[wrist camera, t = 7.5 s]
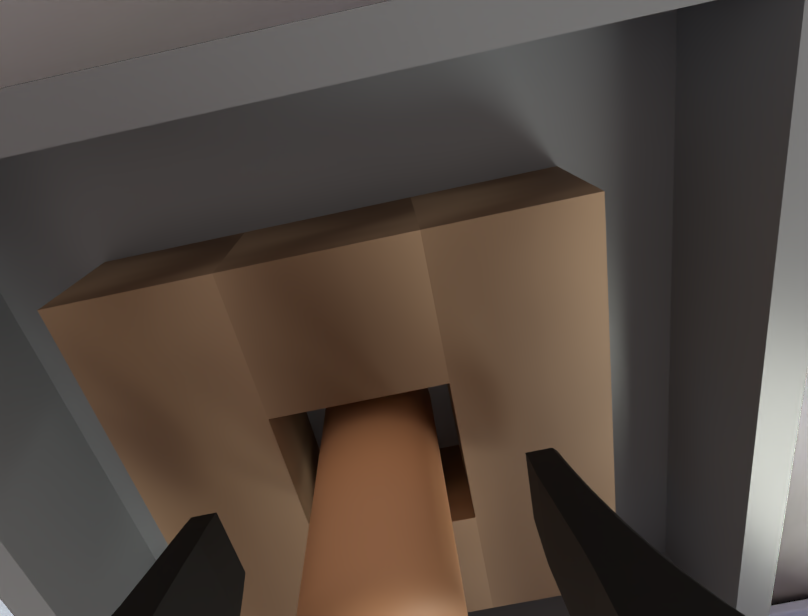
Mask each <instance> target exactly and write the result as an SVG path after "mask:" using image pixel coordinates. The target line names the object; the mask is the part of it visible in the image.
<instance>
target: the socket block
mask: <svg viewBox="0 0 808 616" xmlns="http://www.w3.org/2000/svg"><path fill="white" fill-rule="evenodd" d="M37 311H38V312H39V314H40V316H41V318H42V319H43V321H44V323H45V325H46V327H47V328H48V330H49V332H50V334H51V336H52V337H53V339H54V341H55V343H56V345H57V346H58V348H59V350H60V352H61V354H62V355H63V357H64V359H65V361H66V363H67V364H68V366H69V368H70V370H71V371H72V373H73V375H74V377H75V379H76V380H77V382H78V384H79V386H80V388H81V389H82V391H83V393H84V395H85V397H86V398H87V400H88V402H89V404H90V406H91V407H92V409H93V411H94V413H95V415H96V416H97V418H98V420H99V422H100V424H101V425H102V427H103V429H104V431H105V432H106V434H107V436H108V438H109V440H110V441H111V443H112V445H113V447H114V449H115V450H116V452H117V454H118V456H119V458H120V459H121V461H122V463H123V465H124V467H125V468H126V470H127V472H128V474H129V476H130V477H131V479H132V481H133V483H134V484H135V486H136V488H137V490H138V492H139V493H140V495H141V497H142V499H143V501H144V502H145V504H146V506H147V508H148V510H149V511H150V513H151V515H152V517H153V519H154V520H155V522H156V524H157V526H158V528H159V529H160V531H161V533H162V535H163V536H164V538H165V540H166V542H167V544H168V545H169V544H170V543H171V541H172V540H173V539H174V538H175V536H176V535H177V534H178V533H179V531H180V530H181V529H182V528H183V526H184V525H185V524H186V523H187V522H188V520H189V519H190V518H191V517H195V516H200V515H206V514H211V513H216V512H217V514H218V516H219V518H220V521H221V523H222V525H223V527H224V529H225V531H226V533H227V535H228V537H229V539H230V541H231V543H232V545H233V547H234V550H235V552H236V554H237V556H238V558H239V560H240V562H241V564H242V566H243V568H244V570H245V572H246V573H245V582H244V591H243V599H242V606H241V613H240V616H296V614H297V607H298V600H299V593H300V586H301V579H302V572H303V565H304V558H305V551H306V544H307V537H308V530H309V523H310V516H311V509H312V502H313V495H314V488H315V481H316V474H317V467H318V460H319V453H320V450H319V447H318V444H317V441H316V438H315V435H314V432H313V430H312V427H311V424H310V421H309V418H308V415H307V412H308V411H313V410H318V409H323V408H328V407H333V406H338V405H343V404H348V403H353V402H358V401H363V400H368V399H373V398H378V397H383V396H388V395H393V394H399V393H404V392H409V391H414V390H419V389H424V388H429V387H434V386H439V385H444V384H447V386H448V391H449V396H450V401H451V406H452V411H453V416H454V421H455V427H456V432H457V437H458V442H459V445H455V446H450V447H445V448H439V450H440V455H441V461H442V467H443V473H444V479H445V484H446V490H447V496H448V502H449V508H450V513H451V519H452V525H453V531H454V537H455V543H456V548H457V554H458V560H459V566H460V572H461V577H462V583H463V589H464V595H465V601H466V606H467V612H473V611H478V610H483V609H489V608H494V607H500V606H505V605H511V604H516V603H522V602H527V601H533V600H538V599H544V598H549V597H555V596H560V595H561V593H560V591H559V589H558V586H557V584H556V581H555V579H554V577H553V574H552V572H551V570H550V567H549V565H548V562H547V559H546V556H545V553H544V550H543V547H542V543H541V540H540V537H539V534H538V530H537V527H536V524H535V521H534V516H533V508H532V501H531V493H530V485H529V477H528V469H527V461H526V454H525V453H527V452H532V451H537V450H542V449H547V448H554V449H555V450H557V451H558V452H559V453H560V455H561V456H562V457H563V458H564V459H565V461H566V462H567V463H568V464H569V465H570V466H571V468H572V469H573V470H574V471H575V472H576V473H577V474H578V475H579V476H580V478H581V479H582V480H583V481H584V482H585V483H586V484H587V485H588V486H589V487H590V488H591V489H592V490H593V491H594V492H595V493H596V494H597V495H598V496H599V497H600V498H601V499H602V500H603V501H604V502H605V503H606V504H607V505H608V506H609V507H610V508H611V509H612V510H613V511H614V512H615V513H616V506H615V477H614V449H613V420H612V391H611V363H610V334H609V305H608V277H607V248H606V219H605V191H603V190H601V189H599V188H598V187H596V186H594V185H592V184H590V183H588V182H586V181H584V180H582V179H580V178H579V177H577V176H575V175H573V174H571V173H569V172H567V171H565V170H563V169H561V168H560V167H558V166H555V167H550V168H546V169H541V170H536V171H531V172H527V173H522V174H517V175H513V176H508V177H503V178H498V179H494V180H489V181H484V182H480V183H475V184H470V185H466V186H461V187H456V188H451V189H447V190H442V191H437V192H433V193H428V194H423V195H418V196H414V197H409V198H404V199H400V200H395V201H390V202H385V203H381V204H376V205H371V206H367V207H362V208H357V209H352V210H348V211H343V212H338V213H334V214H329V215H324V216H320V217H315V218H310V219H305V220H301V221H296V222H291V223H287V224H282V225H277V226H272V227H268V228H263V229H258V230H254V231H249V232H244V233H239V234H235V235H230V236H225V237H221V238H216V239H211V240H206V241H202V242H197V243H192V244H188V245H183V246H178V247H174V248H169V249H164V250H159V251H155V252H150V253H145V254H141V255H136V256H131V257H126V258H122V259H117V260H112V261H108V262H104V263H103V264H101V265H100V266H99V267H97V268H96V269H94V270H93V271H92V272H90V273H89V274H87V275H86V276H85V277H83V278H82V279H80V280H79V281H78V282H76V283H75V284H73V285H72V286H71V287H69V288H68V289H66V290H65V291H64V292H62V293H61V294H59V295H58V296H57V297H55V298H54V299H52V300H51V301H50V302H48V303H47V304H45V305H44V306H43V307H41V308H40V309H38V310H37Z"/></svg>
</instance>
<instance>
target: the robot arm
mask: <svg viewBox="0 0 808 616" xmlns="http://www.w3.org/2000/svg"><path fill="white" fill-rule="evenodd" d="M525 454H526V461H527V469H528V477H529V485H530V493H531V501H532V508H533V516H534V521H535V524H536V527H537V530H538V534H539V537H540V540H541V543H542V547H543V550H544V553H545V556H546V559H547V562H548V565H549V567H550V570H551V572H552V574H553V577H554V579H555V581H556V584H557V586H558V589H559V591H560V593H561V596H562V598H563V600H564V603H565V605H566V607H567V610H568V612H569V614H570V616H745V615H744V614H742V613H741V612H739V611H738V610H736V609H735V608H733V607H732V606H730V605H729V604H727V603H726V602H725V601H723V600H722V599H720V598H719V597H718V596H716V595H715V594H713V593H712V592H711V591H709V590H708V589H707V588H705V587H704V586H702V585H701V584H700V583H698V582H697V581H696V580H694V579H693V578H692V577H690V576H689V575H688V574H687V573H685V572H684V571H683V570H681V569H680V568H679V567H677V566H676V565H675V564H674V563H672V562H671V561H670V560H669V559H667V558H666V557H665V556H664V555H663V554H661V553H660V552H659V551H658V550H657V549H655V548H654V547H653V546H652V545H651V544H650V543H648V542H647V541H646V540H645V539H644V538H643V537H641V536H640V535H639V534H638V533H637V532H636V531H635V530H634V529H632V528H631V527H630V526H629V525H628V524H627V523H626V522H625V521H624V520H623V519H622V518H620V517H619V516H618V515H617V514H616V513H615V512H614V511H613V510H612V509H611V508H610V507H609V506H608V505H607V504H606V503H605V502H604V501H603V500H602V499H601V498H600V497H599V496H598V495H597V494H596V493H595V492H594V491H593V490H592V489H591V488H590V487H589V486H588V485H587V484H586V483H585V482H584V481H583V480H582V479H581V478H580V476H579V475H578V474H577V473H576V472H575V471H574V470H573V469H572V468H571V466H570V465H569V464H568V463H567V462H566V461H565V459H564V458H563V457H562V456H561V455H560V453H559V452H558V451H557V450H555V449H554V448H547V449H542V450H537V451H532V452H527V453H525ZM245 573H246V572H245V570H244V568H243V566H242V564H241V562H240V560H239V558H238V556H237V554H236V552H235V550H234V547H233V545H232V543H231V541H230V539H229V537H228V535H227V533H226V531H225V529H224V527H223V525H222V523H221V521H220V518H219V516H218V514H217V512H216V513H211V514H206V515H200V516H195V517H191V518H190V519H189V520H188V522H187V523H186V524H185V525H184V526H183V528H182V529H181V530H180V531H179V533H178V534H177V535H176V536H175V538H174V539H173V540H172V541H171V543H170V544H169V545H168V546H167V548H166V549H165V550H164V551H163V553H162V554H161V555H160V556H159V558H158V559H157V560H156V562H155V563H154V564H153V565H152V567H151V568H150V569H149V570H148V572H147V573H146V574H145V575H144V577H143V578H142V579H141V580H140V581H139V583H138V584H137V585H136V586H135V588H134V589H133V590H132V591H131V593H130V594H129V595H128V596H127V598H126V599H125V600H124V601H123V602H122V604H121V605H120V606H119V607H118V608H117V610H116V611H115V612H114V613H113V614H112V615H111V616H240V613H241V606H242V599H243V591H244V582H245ZM769 616H808V599H804V600H799V601H793V602H787V603H782V604H776V605H771V608H770V615H769Z"/></svg>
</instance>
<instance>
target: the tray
mask: <svg viewBox="0 0 808 616" xmlns="http://www.w3.org/2000/svg"><path fill="white" fill-rule="evenodd" d="M555 166H558V167H560V168H561V169H563V170H565V171H567V172H569V173H571V174H573V175H575V176H577V177H579V178H580V179H582V180H584V181H586V182H588V183H590V184H592V185H594V186H596V187H598V188H599V189H601V190H603V191H605V219H606V248H607V277H608V305H609V334H610V363H611V391H612V420H613V449H614V477H615V506H616V514H617V515H618V516H619V517H620V518H622V519H623V520H624V521H625V522H626V523H627V524H628V525H629V526H630V527H631V528H632V529H634V530H635V531H636V532H637V533H638V534H639V535H640V536H641V537H643V538H644V539H645V540H646V541H647V542H648V543H650V544H651V545H652V546H653V547H654V548H655V549H657V550H658V551H659V552H660V553H661V554H663V555H664V556H665V557H666V558H667V559H669V560H670V561H671V562H672V563H674V564H675V565H676V566H677V567H679V568H680V569H681V570H683V571H684V572H685V573H687V574H688V575H689V576H690V577H692V578H693V579H694V580H696V581H697V582H698V583H700V584H701V585H702V586H704V587H705V588H707V589H708V590H709V591H711V592H712V593H713V594H715V595H716V596H718V597H719V598H720V599H722V600H723V601H725V602H726V603H727V604H729V605H730V606H732V607H733V608H735V609H736V610H738V611H739V612H741V613H742V614H744V615H745V616H769V615H770V608H771V602H772V595H773V589H774V582H775V576H776V570H777V563H778V557H779V550H780V544H781V537H782V531H783V525H784V518H785V512H786V505H787V499H788V492H789V486H790V480H791V473H792V467H793V460H794V454H795V447H796V441H797V435H798V428H799V422H800V415H801V409H802V402H803V396H804V390H805V383H806V377H807V370H808V0H389V1H385V2H381V3H376V4H372V5H367V6H363V7H358V8H354V9H350V10H345V11H341V12H336V13H332V14H327V15H323V16H319V17H314V18H310V19H305V20H301V21H297V22H292V23H288V24H283V25H279V26H274V27H270V28H266V29H261V30H257V31H252V32H248V33H244V34H239V35H235V36H230V37H226V38H221V39H217V40H213V41H208V42H204V43H199V44H195V45H190V46H186V47H182V48H177V49H173V50H168V51H164V52H160V53H155V54H151V55H146V56H142V57H137V58H133V59H129V60H124V61H120V62H115V63H111V64H106V65H102V66H98V67H93V68H89V69H84V70H80V71H76V72H71V73H67V74H62V75H58V76H53V77H49V78H45V79H40V80H36V81H31V82H27V83H23V84H18V85H14V86H9V87H5V88H0V599H1V600H2V601H3V603H4V604H5V605H6V606H7V608H8V609H9V610H10V611H11V613H12V614H13V615H14V616H111V615H112V614H113V613H114V612H115V611H116V610H117V608H118V607H119V606H120V605H121V604H122V602H123V601H124V600H125V599H126V598H127V596H128V595H129V594H130V593H131V591H132V590H133V589H134V588H135V586H136V585H137V584H138V583H139V581H140V580H141V579H142V578H143V577H144V575H145V574H146V573H147V572H148V570H149V569H150V568H151V567H152V565H153V564H154V563H155V562H156V560H157V559H158V558H159V556H160V555H161V554H162V553H163V551H164V550H165V549H166V548H167V546H168V544H167V542H166V540H165V538H164V536H163V535H162V533H161V531H160V529H159V528H158V526H157V524H156V522H155V520H154V519H153V517H152V515H151V513H150V511H149V510H148V508H147V506H146V504H145V502H144V501H143V499H142V497H141V495H140V493H139V492H138V490H137V488H136V486H135V484H134V483H133V481H132V479H131V477H130V476H129V474H128V472H127V470H126V468H125V467H124V465H123V463H122V461H121V459H120V458H119V456H118V454H117V452H116V450H115V449H114V447H113V445H112V443H111V441H110V440H109V438H108V436H107V434H106V432H105V431H104V429H103V427H102V425H101V424H100V422H99V420H98V418H97V416H96V415H95V413H94V411H93V409H92V407H91V406H90V404H89V402H88V400H87V398H86V397H85V395H84V393H83V391H82V389H81V388H80V386H79V384H78V382H77V380H76V379H75V377H74V375H73V373H72V371H71V370H70V368H69V366H68V364H67V363H66V361H65V359H64V357H63V355H62V354H61V352H60V350H59V348H58V346H57V345H56V343H55V341H54V339H53V337H52V336H51V334H50V332H49V330H48V328H47V327H46V325H45V323H44V321H43V319H42V318H41V316H40V314H39V312H38V311H37V310H38V309H40V308H41V307H43V306H44V305H45V304H47V303H48V302H50V301H51V300H52V299H54V298H55V297H57V296H58V295H59V294H61V293H62V292H64V291H65V290H66V289H68V288H69V287H71V286H72V285H73V284H75V283H76V282H78V281H79V280H80V279H82V278H83V277H85V276H86V275H87V274H89V273H90V272H92V271H93V270H94V269H96V268H97V267H99V266H100V265H101V264H103V263H104V262H108V261H112V260H117V259H122V258H126V257H131V256H136V255H141V254H145V253H150V252H155V251H159V250H164V249H169V248H174V247H178V246H183V245H188V244H192V243H197V242H202V241H206V240H211V239H216V238H221V237H225V236H230V235H235V234H239V233H244V232H249V231H254V230H258V229H263V228H268V227H272V226H277V225H282V224H287V223H291V222H296V221H301V220H305V219H310V218H315V217H320V216H324V215H329V214H334V213H338V212H343V211H348V210H352V209H357V208H362V207H367V206H371V205H376V204H381V203H385V202H390V201H395V200H400V199H404V198H409V197H414V196H418V195H423V194H428V193H433V192H437V191H442V190H447V189H451V188H456V187H461V186H466V185H470V184H475V183H480V182H484V181H489V180H494V179H498V178H503V177H508V176H513V175H517V174H522V173H527V172H531V171H536V170H541V169H546V168H550V167H555ZM428 390H429V393H430V397H431V403H432V409H433V415H434V421H435V426H436V432H437V438H438V444H439V448H445V447H450V446H455V445H459V442H458V437H457V432H456V427H455V421H454V416H453V411H452V406H451V401H450V396H449V391H448V386H447V384H444V385H439V386H434V387H429V388H428ZM325 411H326V408H323V409H318V410H313V411H308V412H307V415H308V418H309V421H310V424H311V427H312V430H313V432H314V435H315V438H316V441H317V444H318V447H319V450H320V446H321V439H322V432H323V425H324V418H325ZM468 616H570V614H569V612H568V610H567V607H566V605H565V603H564V600H563V598H562V596H561V595H560V596H555V597H549V598H544V599H538V600H533V601H527V602H522V603H516V604H511V605H505V606H500V607H494V608H489V609H483V610H478V611H473V612H468Z"/></svg>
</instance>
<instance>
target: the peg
mask: <svg viewBox="0 0 808 616" xmlns="http://www.w3.org/2000/svg"><path fill="white" fill-rule="evenodd" d="M296 616H468V612H467V606H466V601H465V595H464V589H463V583H462V577H461V572H460V566H459V560H458V554H457V548H456V543H455V537H454V531H453V525H452V519H451V513H450V508H449V502H448V496H447V490H446V484H445V479H444V473H443V467H442V461H441V455H440V450H439V444H438V438H437V432H436V426H435V421H434V415H433V409H432V403H431V397H430V393H429V390H428V388H424V389H419V390H414V391H409V392H404V393H399V394H393V395H388V396H383V397H378V398H373V399H368V400H363V401H358V402H353V403H348V404H343V405H338V406H333V407H328V408H326V411H325V418H324V425H323V432H322V439H321V446H320V453H319V460H318V467H317V474H316V481H315V488H314V495H313V502H312V509H311V516H310V523H309V530H308V537H307V544H306V551H305V558H304V565H303V572H302V579H301V586H300V593H299V600H298V607H297V614H296Z"/></svg>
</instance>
